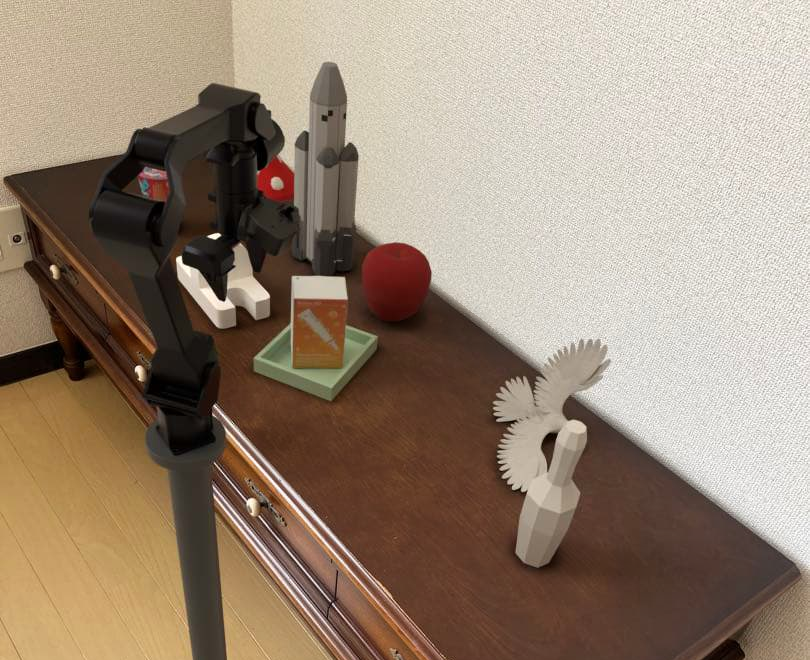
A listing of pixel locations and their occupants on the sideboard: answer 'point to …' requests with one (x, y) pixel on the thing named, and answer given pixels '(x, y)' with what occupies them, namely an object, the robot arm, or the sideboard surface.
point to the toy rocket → (326, 179)
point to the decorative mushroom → (277, 180)
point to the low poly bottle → (551, 499)
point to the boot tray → (315, 380)
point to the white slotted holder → (239, 290)
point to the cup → (154, 184)
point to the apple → (395, 280)
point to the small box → (318, 321)
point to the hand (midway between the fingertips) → (239, 285)
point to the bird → (543, 408)
